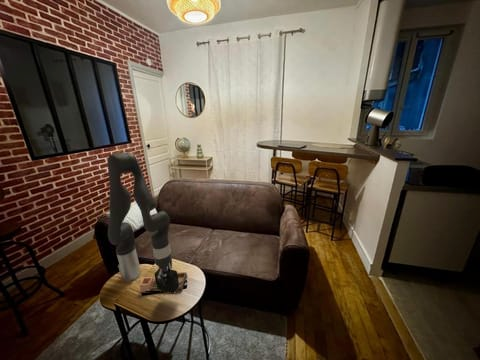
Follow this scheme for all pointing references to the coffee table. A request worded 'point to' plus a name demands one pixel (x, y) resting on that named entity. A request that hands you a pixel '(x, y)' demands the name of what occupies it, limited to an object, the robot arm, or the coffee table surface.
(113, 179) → the robot arm
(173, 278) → the electronic device
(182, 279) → the trough
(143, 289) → the orange open cube box
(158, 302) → the coffee table surface
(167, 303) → the coffee table surface
